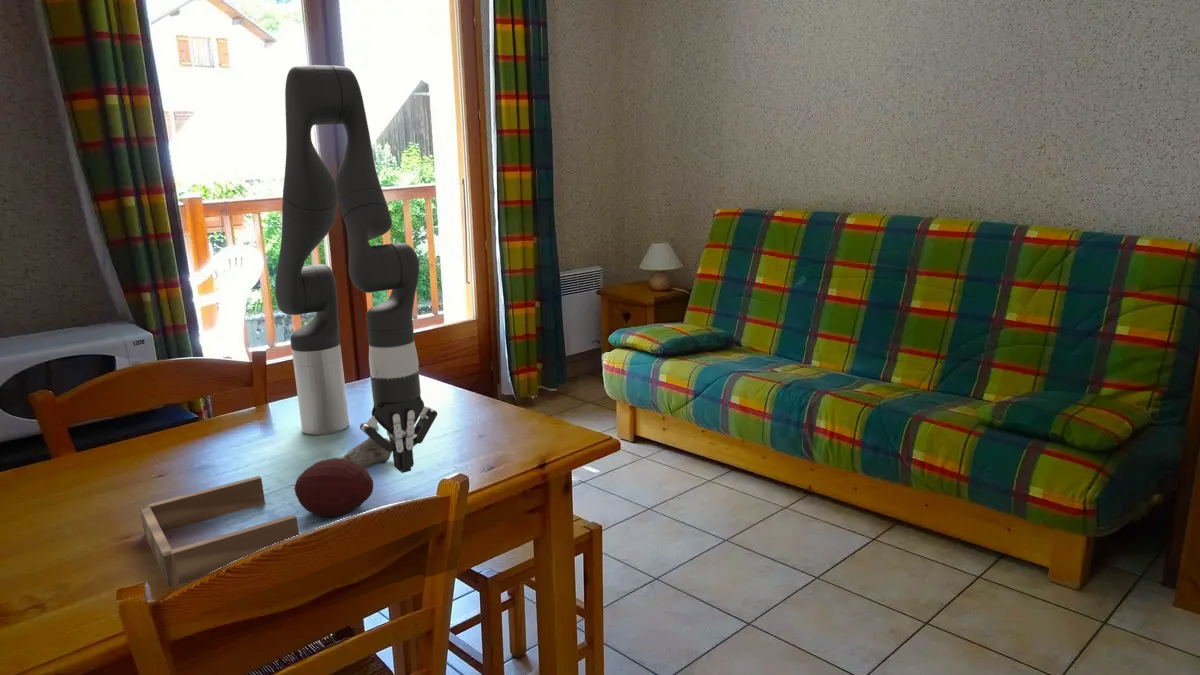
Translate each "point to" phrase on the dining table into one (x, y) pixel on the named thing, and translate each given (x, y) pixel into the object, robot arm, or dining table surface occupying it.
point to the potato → (333, 487)
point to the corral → (219, 549)
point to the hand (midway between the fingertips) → (404, 470)
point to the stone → (368, 454)
